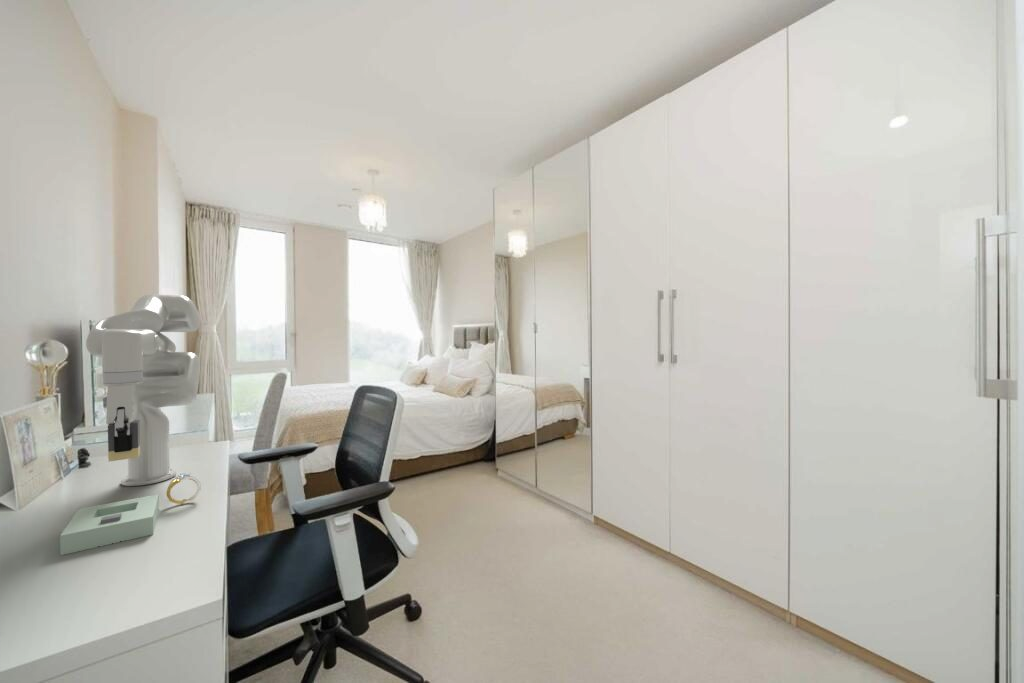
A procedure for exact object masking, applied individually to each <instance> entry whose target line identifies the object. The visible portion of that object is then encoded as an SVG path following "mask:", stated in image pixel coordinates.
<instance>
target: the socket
mask: <svg viewBox="0 0 1024 683" xmlns="http://www.w3.org/2000/svg"><path fill="white" fill-rule="evenodd" d="M159 495H160V494H153V495H148V496H142V497H137V498H131V499H126V500H120V501H115V502H114V501H113V502H109V503H102V504H97V505H92V506H87V507H80V508H78V509H77V511H76V512H75V514H74V515H73V516H72V517H71V519H70V521H69V522H68V523H67V525H66V527H65V528H64V529H63V531H62V532H61V534H60V535H59V540H60V542H59V544H60V545H59V546H60V549H59V551H60V553H59V554H60V556H65V555H67V554H73V553H76V552H82V551H85V550H91V549H95V548H99V547H98V546H100V547H102V546H108V545H112V543H113V544H117V543H121V542H120V541H122V542H126V541H129V540H134V539H139V538H143V537H144V538H145V537H149V536H152V535H154V533H155V527H156V524H157V519H158V515H159V511H160V501H159V500H160V499H159V498H160V497H159ZM125 540H126V541H125Z"/></svg>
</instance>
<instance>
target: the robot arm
mask: <svg viewBox="0 0 1024 683" xmlns="http://www.w3.org/2000/svg"><path fill="white" fill-rule="evenodd" d="M199 312H200V311H199V310H198V309H197V306H196V305H195V303H194V302H193V300H192V299H191V298H189V297H188V296H185V295H176V294H146V295H143V296H141V297H139V298H138V299H137V300H136V302H135V303H134V305H133V306H132V308H131V309H130V310H129V311H126V312H122V313H119V314H115V315H111V316H108V317H106V318H102V319H101V320H99V321H98V322H96V323H95V325H94V326H93V327H92V328H91V330H89V332H88V334H87V337H86V340H85V345H86V350H87V351H88V352H89V354H91V355H92V356H94V357H98V358H101V359H102V360H101V364H102V365H101V367H102V368H101V370H102V372H101V374H102V377H101V378H102V386H104V387H107V392H106V413H105V414H106V416H105V424H106V425H107V426H108V425H111V424H112V423H113V422H115V436H114V452H124V451H131V450H132V435H130V423H132V422H133V421H134V420H140V455H139V457H138V458H131V459H127V463H128V466H127V468H128V469H127V470H128V471H127V476H124V477H123V478H122V479H121V480H120V484H121V485H122V486H125V487H134V486H135V487H136V486H137V487H138V486H144V485H145V486H146V485H152V484H156V483H161V482H163V481H166V480H167V481H168V480H169V479H172V478H175V476H177V475H176V474H177V471H176V469H173V468H170V465H171V464H170V462H171V461H170V420H169V418H168V416H167V415H166V414H165V413H164V412H162V410H161V409H160V408H167V407H179V406H188V405H191V404H192V403H194V402H195V401H196V398H197V395H198V391H199V389H198V388H199V384H200V383H199V382H200V376H201V361H200V358H199V356H198V355H197V354H196V353H194V352H190V351H189V352H188V351H176V349H177V346H176V345H175V343H174V342H173V341H172V340H171V339H170V337H167V336H166V335H165V334H163V333H192V332H196V331H198V329H199V328H200V326H201V316H200V313H199ZM124 421H128V423H124ZM126 425H127V427H126Z"/></svg>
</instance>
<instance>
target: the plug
mask: <svg viewBox="0 0 1024 683" xmlns="http://www.w3.org/2000/svg"><path fill="white" fill-rule="evenodd" d="M124 423H128V421H124ZM126 427H127V425H126ZM130 435H132V450H131V451H124V452H114V436H115V421H114V422H113V423H112V424H111V425H107V448H108V449H107V451H108V453H107V454H108V456H107V457H108V462H116V461H121V460H122V461H123V460H128V459H131V458H138V457H139V455H140V420H134V421H133V422H132V423H130Z"/></svg>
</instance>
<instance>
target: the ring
mask: <svg viewBox="0 0 1024 683" xmlns="http://www.w3.org/2000/svg"><path fill="white" fill-rule="evenodd" d="M187 479H188V480H191V481H193V482H195V484H196V486H197V489H196V492H195V494H194V495H192V496H191V497H190V498H185V499H182V500H178V499H175V498H173V497H172V495H171V490H172V489H173V488H174V486H176V485H177V484H178V483H180V482H181V481H185V480H187ZM201 489H202V484H201V482H200V480H199V478H197V477H195V476H191V472H188V474H187V473H186V472H182V473H179V475H175V476H174V479H172V480H171V481H170V482H169V484H168V486H167V489H166V498H167V499H168V501H170V502H171V503H172V504H178V505H181V504H182V505H186V504H187V503H190V502H192V501H193V500H194V499H196V498H197V497H198V496H199V494H200V492H201Z"/></svg>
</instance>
